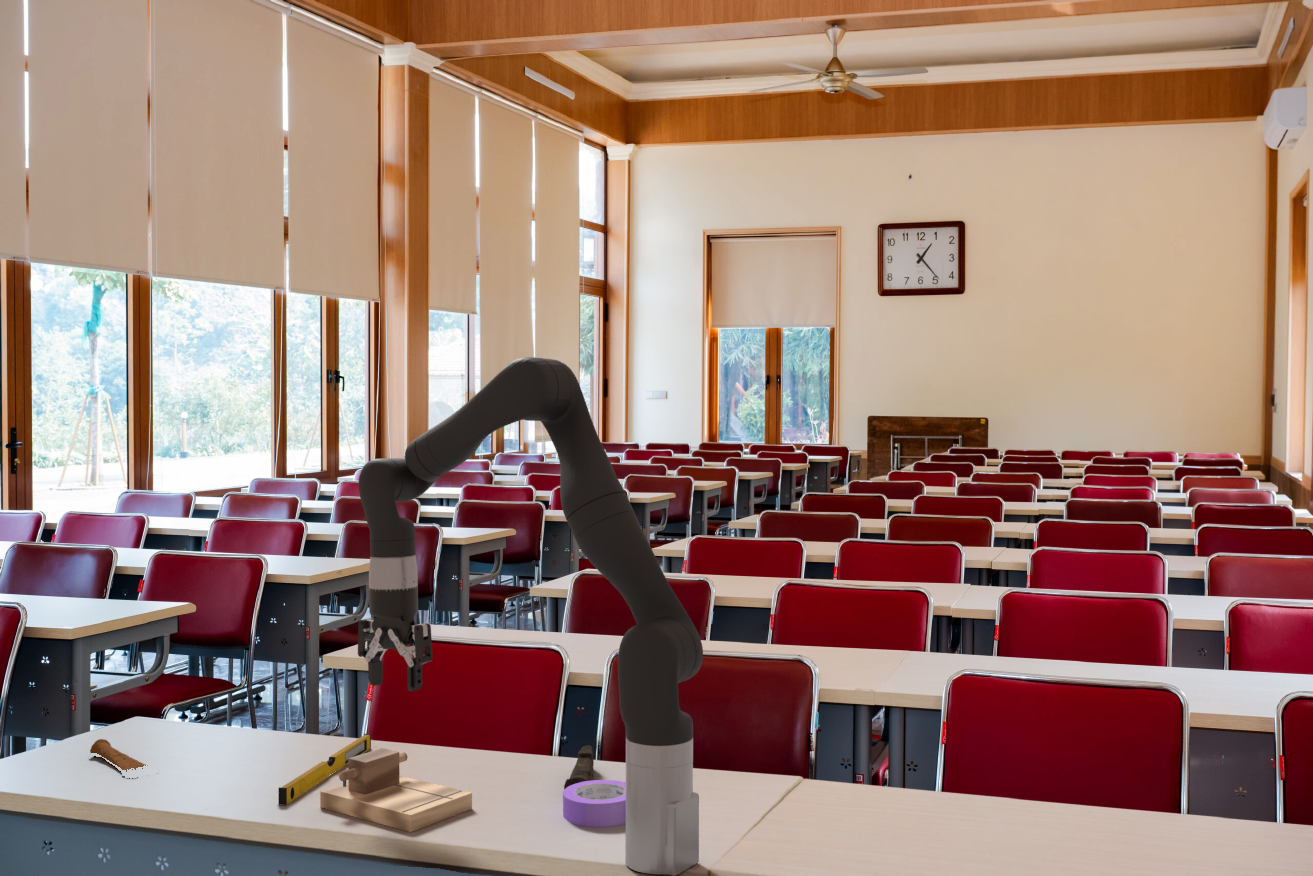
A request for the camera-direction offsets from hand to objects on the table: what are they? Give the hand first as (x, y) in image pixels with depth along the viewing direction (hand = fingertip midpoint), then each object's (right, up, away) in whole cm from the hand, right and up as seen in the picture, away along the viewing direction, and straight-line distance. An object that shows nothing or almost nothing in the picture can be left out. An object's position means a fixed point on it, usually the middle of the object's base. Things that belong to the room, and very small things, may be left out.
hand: (395, 687), depth 186 cm
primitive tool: (-52, -19, +22) cm, 60 cm away
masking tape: (+33, -19, -4) cm, 38 cm away
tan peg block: (-4, -16, +1) cm, 16 cm away
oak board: (0, -19, -2) cm, 19 cm away
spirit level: (-15, -19, +16) cm, 29 cm away
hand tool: (+28, -19, +12) cm, 36 cm away
